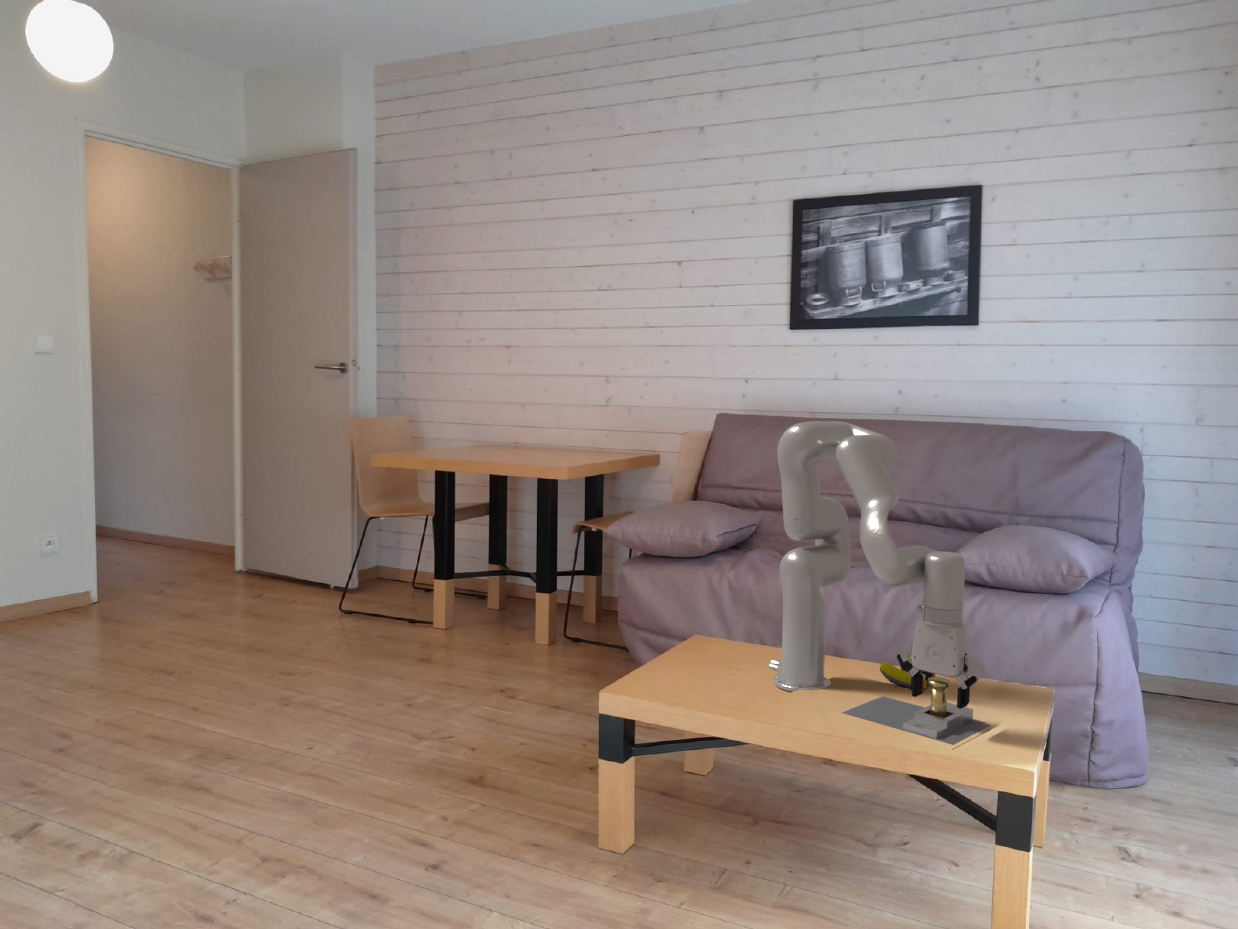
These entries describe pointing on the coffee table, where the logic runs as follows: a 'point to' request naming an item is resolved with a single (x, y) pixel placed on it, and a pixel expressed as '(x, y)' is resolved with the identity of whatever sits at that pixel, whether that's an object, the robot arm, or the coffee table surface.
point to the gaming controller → (902, 674)
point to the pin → (939, 695)
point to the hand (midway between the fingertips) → (939, 701)
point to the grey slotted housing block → (938, 721)
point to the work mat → (908, 718)
